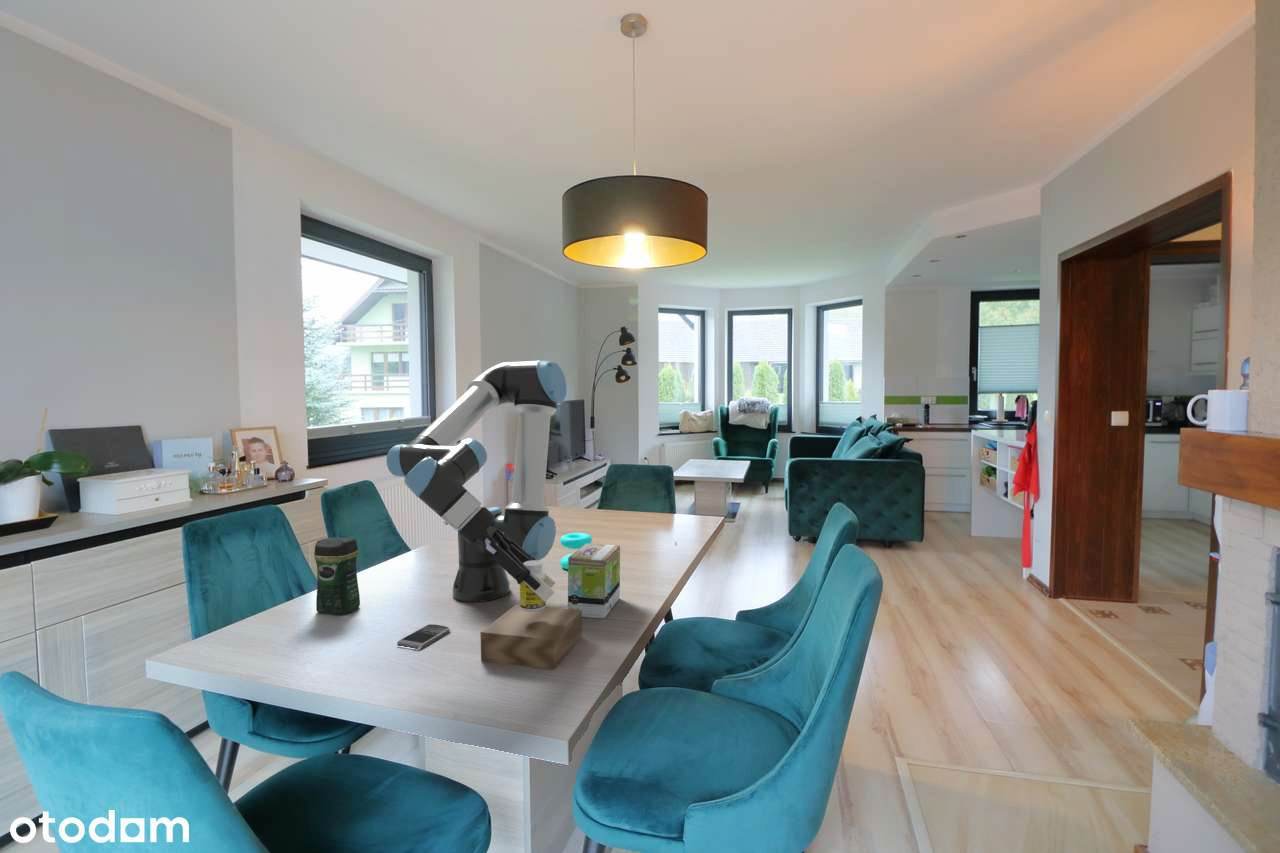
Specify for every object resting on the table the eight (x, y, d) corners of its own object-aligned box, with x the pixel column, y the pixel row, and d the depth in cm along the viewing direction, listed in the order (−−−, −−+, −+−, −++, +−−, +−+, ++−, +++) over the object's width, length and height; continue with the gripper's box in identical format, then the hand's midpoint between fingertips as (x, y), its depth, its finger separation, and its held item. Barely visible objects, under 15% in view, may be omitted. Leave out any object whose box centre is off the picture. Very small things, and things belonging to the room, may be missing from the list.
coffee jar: (365, 605, 148) (363, 535, 147) (344, 617, 140) (342, 542, 139) (332, 603, 150) (330, 533, 149) (310, 614, 142) (307, 541, 141)
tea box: (606, 619, 138) (605, 559, 137) (566, 616, 140) (566, 557, 139) (620, 598, 153) (620, 543, 152) (584, 595, 155) (584, 542, 154)
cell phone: (452, 632, 132) (451, 626, 132) (418, 652, 121) (418, 646, 121) (430, 629, 134) (430, 623, 134) (395, 648, 124) (395, 642, 123)
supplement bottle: (524, 614, 118) (523, 567, 118) (517, 606, 123) (516, 561, 123) (549, 609, 121) (548, 564, 120) (541, 601, 125) (540, 557, 125)
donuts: (596, 533, 184) (584, 540, 175) (596, 563, 185) (585, 572, 175) (568, 531, 187) (555, 538, 178) (568, 561, 188) (555, 570, 178)
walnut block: (481, 660, 116) (480, 632, 116) (516, 629, 132) (516, 604, 132) (554, 669, 113) (553, 639, 112) (581, 636, 128) (581, 610, 128)
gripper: (465, 521, 128) (540, 590, 131) (447, 542, 110) (535, 621, 113) (489, 497, 129) (563, 566, 131) (475, 514, 110) (562, 593, 113)
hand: (550, 591), depth 122 cm, fingers closed on supplement bottle, 5 cm apart
